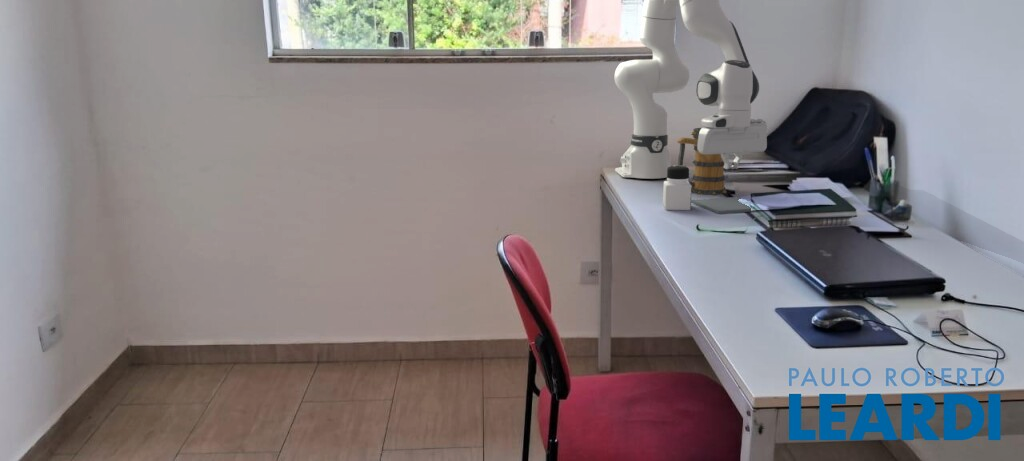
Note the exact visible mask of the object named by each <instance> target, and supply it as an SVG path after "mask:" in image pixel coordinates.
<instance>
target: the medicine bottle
mask: <svg viewBox="0 0 1024 461" xmlns="http://www.w3.org/2000/svg"><path fill="white" fill-rule="evenodd" d="M689 174H690V168H689V167H687V166H686V165H683V166H679V165H678V164H676V165H675V164H674V165H671V166H670V167H668V168H667V177H666V180H664V181H663V186H662V187H663V191H662V192H663V193H662V194H663V195H662V206H663V208H664V210H665V211H691V210H692V208H691V207H692V203H691V200H692V193H693V192H692V186H691V184H690V183H689V182H688V181H689V179H690V176H689Z"/></svg>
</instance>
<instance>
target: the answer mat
mask: <svg viewBox="0 0 1024 461" xmlns="http://www.w3.org/2000/svg"><path fill="white" fill-rule="evenodd" d="M741 198H742V197H741V196H734V197H718V198H717V197H716V198H703V199H702V198H701V199H691V204H693V205H695V206H697V207H699V208H702V209H705V210H707V211H709V212H712V213H715V214H717V215H718V214H719V215H721V214H722V215H723V214H734V213H737V214H738V213H750V212H752V211H751V208H750V207H749V206H747V205H745V204H742V203H740V202H739V201H738V200H739V199H741Z"/></svg>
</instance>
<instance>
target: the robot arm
mask: <svg viewBox="0 0 1024 461" xmlns="http://www.w3.org/2000/svg"><path fill="white" fill-rule="evenodd" d="M678 5H679V7H678ZM678 8H679V9H680V14H681V19H682V22H683V24H684V27H685V28H686V30H688V32H690V33H691V34H693V35H695V36H697V37H699V38H702V39H705V40H706V41H710V42H711V43H713V44H715V45H716V46H718V48H719V49H721V51H722V53H723V56H724V58H725V61H724V62H722V64H721V66H720V67H718V68H716V69H715V70H712V71H710V72H707V73H703V74H702V76H700V78H698V82H697V85H696V91H695V92H696V96H697V98H698V100H699V102H700V103H702V104H703V105H704V106H709V107H716V106H717V107H718V109H717V110H718V111H717V112H716V113H714V114H712V115H709V116H706V117H703V118H702V119H701V120H700V124H701V126H702V127H701V128H702V129H701V130H700V132H699V136H698V145H697V149H698V151H699V153H701V154H705V155H707V154H721V158H722V159H723V161H724V170H738V169H739V163H740V161H741V160H742V158H743V155H744V154H746V153H764V152H765V151H766V149H767V148H768V146H767V145H768V140H767V139H768V138H767V136H768V135H767V127H768V126H767V125H768V124H767V123H766V121H765V120H764V119H762V118H758V119H756V118H755V119H753V118H751V116H752V106H751V104H752V103H753V102H754V101H755V99H756V98H757V97H758V95H759V92H760V83H759V80H758V78H757V76H756V74H755V72H754V70H753V68H752V66H751V64H750V62H749V60H748V56H747V53H746V50H745V48H744V46H743V43H742V40H741V37H740V36H739V33H738V31H737V28H736V26H735V24H734V23H733V22H732V21H731V20H729V19H728V17H727V16H726V14H725V13H724V11H723V9H722V7H721V4H720V0H643V5H642V12H641V21H640V30H639V40H640V42H641V44H643V46H645V47H646V48H648V49H649V50H652V51H651V52H652V59H631V60H626V61H623V62H620V63H619V64H618V66H617V67H616V69H615V71H614V74H613V75H614V77H613V78H614V83H615V86H616V88H617V89H618V90H619V91H620V92H621V93H622V94H623V95H624V96H625V97H626V98H627V99H628V101H629V103H630V105H631V108H632V114H633V115H632V116H633V117H632V118H633V134H632V135H631V138H630V146H629V147H628V148H627V150H626V151H625V152H624V153H623V154H622V156H620V158H619V162H620V163H621V166H620V167H615V170H614V171H615V172H616V173H618V175H620V176H621V177H623V178H633V179H634V178H635V179H649V180H651V179H652V180H654V179H664V178H666V179H667V168H668V167H670V166H672V159H671V150H670V149H668V147H667V146H668V141H669V137H668V134H667V132H668V131H667V129H668V112H667V111H666V109H665V108H664V107H663V106H662V105H659V104H658V103H656V102H655V100H654V96H653V94H659V93H661V94H662V93H663V94H664V93H673V92H677V91H681V90H683V89H684V88H685V87H686V86H687V84H688V82H689V80H690V69H689V67H688V65H687V64H686V63H685V62H684V61H683V60H682V59H681V57H680V56H679V54H678V52H677V47H676V44H675V38H676V36H675V34H676V23H677V17H678ZM730 154H734V155H733V156H734V159H733V161H731V162H730V160H729V158H730Z"/></svg>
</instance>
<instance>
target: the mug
mask: <svg viewBox="0 0 1024 461" xmlns="http://www.w3.org/2000/svg"><path fill="white" fill-rule="evenodd" d="M702 128H703V127H697V128H693V131H692V132H691V133H690V135H691V136H692V137H685V136H684V137H683V136H682V137H680V138H679V139H677V140H676V142H677V144H680V145H679V146H680V147H679V154H678V159H677V160H678V162H677V165H679V166H684V158H685V157H684V156H685V150H686V144H688V145H693V150H694V154H695V155H694V156H695V157H694V160H693V161H692V164H693V165H694V172H693V175H692V181H691V180H690V181H688V182H689V183H690V184H691V186H692V192H691V193H694V194H697V195H712V196H713V195H714V196H715V195H720V194H722V195H724V194H727V193H726V192H727V190H726V189H727V188H726V187H725V181H726V176H725V174H724V172H725V171H724V170H725V168H724V161H723V159H722V158H721V154H707V155H705V154H701V153H699V151H698V149H697V145H698V136H699V132H700V130H701V129H702Z"/></svg>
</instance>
